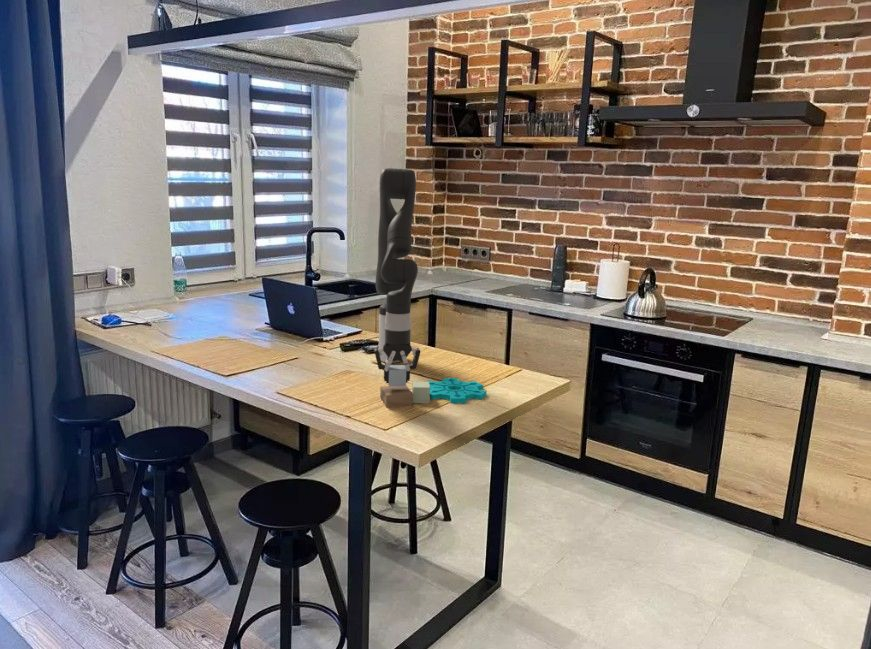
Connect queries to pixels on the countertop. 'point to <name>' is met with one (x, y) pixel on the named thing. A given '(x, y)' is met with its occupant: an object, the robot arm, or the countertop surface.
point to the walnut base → (396, 396)
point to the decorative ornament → (456, 390)
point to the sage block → (421, 392)
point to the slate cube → (397, 375)
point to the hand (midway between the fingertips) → (396, 382)
